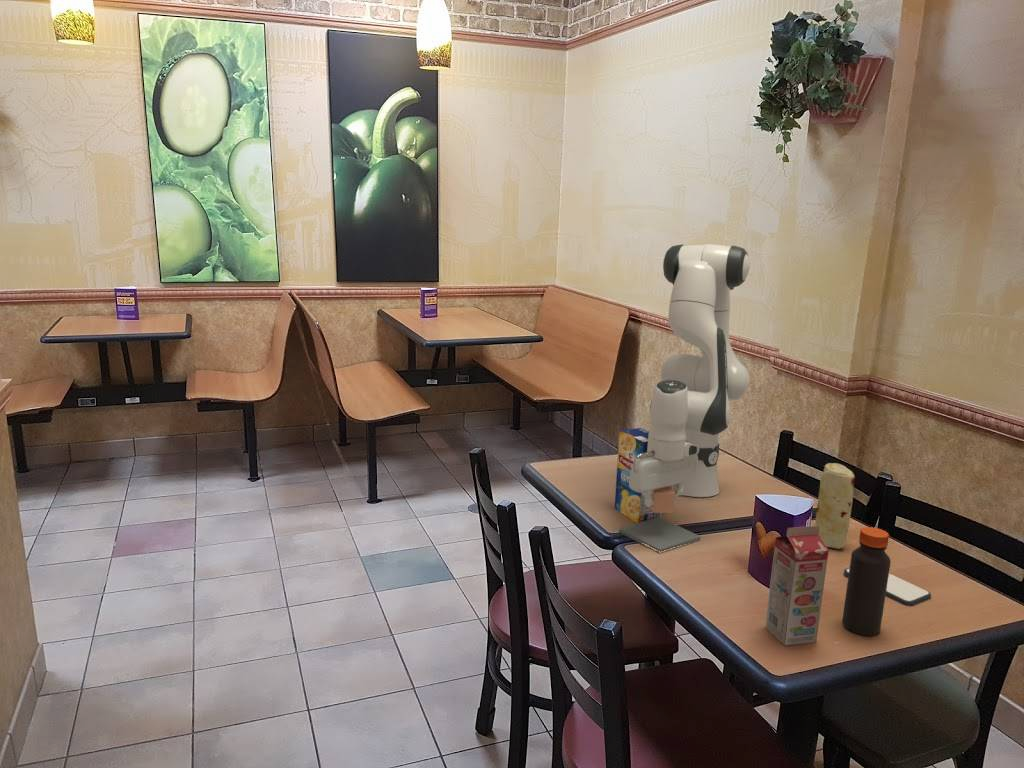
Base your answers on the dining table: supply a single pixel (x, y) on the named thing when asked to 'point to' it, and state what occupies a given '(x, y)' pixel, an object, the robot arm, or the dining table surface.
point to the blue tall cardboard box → (625, 497)
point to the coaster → (659, 534)
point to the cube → (663, 500)
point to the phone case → (902, 591)
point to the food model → (835, 504)
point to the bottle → (867, 583)
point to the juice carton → (797, 585)
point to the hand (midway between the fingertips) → (661, 502)
